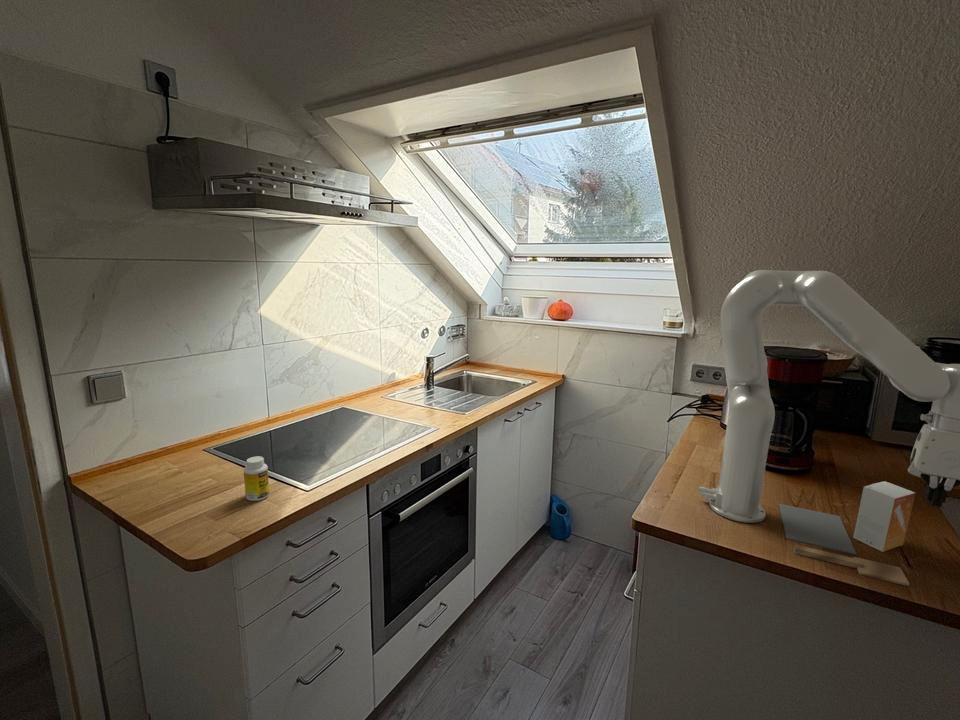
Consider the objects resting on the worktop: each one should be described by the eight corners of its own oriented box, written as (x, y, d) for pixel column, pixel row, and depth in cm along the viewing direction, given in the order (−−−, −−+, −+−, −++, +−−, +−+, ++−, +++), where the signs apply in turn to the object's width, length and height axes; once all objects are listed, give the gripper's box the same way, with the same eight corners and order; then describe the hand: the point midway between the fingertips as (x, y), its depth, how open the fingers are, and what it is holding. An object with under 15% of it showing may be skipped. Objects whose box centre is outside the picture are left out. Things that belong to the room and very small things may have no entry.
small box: (883, 553, 107) (895, 498, 104) (852, 537, 112) (862, 485, 110) (904, 545, 110) (916, 492, 107) (873, 531, 116) (883, 480, 113)
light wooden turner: (795, 558, 104) (796, 553, 104) (792, 544, 109) (793, 539, 109) (909, 586, 96) (910, 581, 95) (899, 569, 101) (900, 564, 101)
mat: (786, 538, 111) (786, 537, 111) (778, 504, 127) (779, 503, 127) (856, 554, 106) (856, 553, 106) (839, 517, 122) (839, 516, 122)
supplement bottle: (261, 503, 121) (258, 464, 119) (240, 500, 122) (237, 462, 120) (274, 492, 127) (271, 455, 125) (254, 490, 127) (251, 454, 125)
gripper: (913, 422, 102) (895, 503, 105) (1011, 435, 95) (988, 520, 99) (901, 412, 108) (885, 489, 112) (992, 424, 102) (971, 504, 106)
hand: (933, 503), depth 105 cm, fingers closed
